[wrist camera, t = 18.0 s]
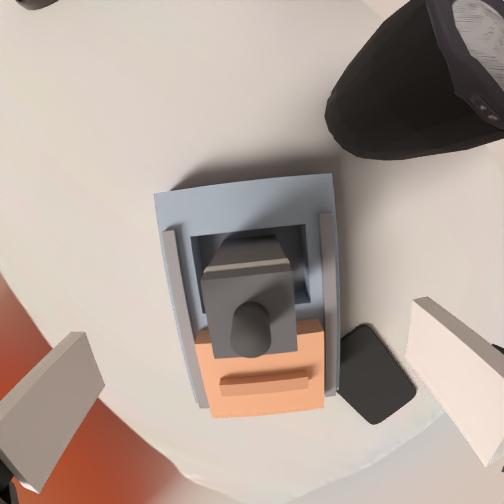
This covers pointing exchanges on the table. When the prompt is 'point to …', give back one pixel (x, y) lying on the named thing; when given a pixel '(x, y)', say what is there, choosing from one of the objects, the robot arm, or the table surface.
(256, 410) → the panel
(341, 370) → the phone
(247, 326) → the grey bottle-shaped block
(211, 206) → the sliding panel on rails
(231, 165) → the table surface
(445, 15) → the portable speaker
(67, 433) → the robot arm
